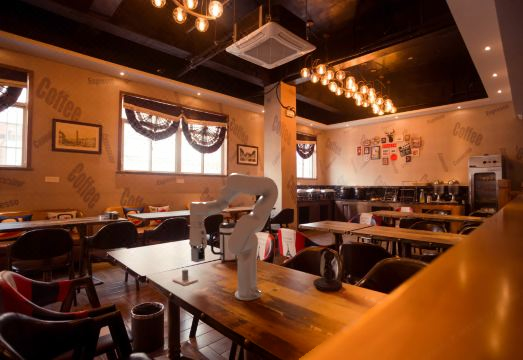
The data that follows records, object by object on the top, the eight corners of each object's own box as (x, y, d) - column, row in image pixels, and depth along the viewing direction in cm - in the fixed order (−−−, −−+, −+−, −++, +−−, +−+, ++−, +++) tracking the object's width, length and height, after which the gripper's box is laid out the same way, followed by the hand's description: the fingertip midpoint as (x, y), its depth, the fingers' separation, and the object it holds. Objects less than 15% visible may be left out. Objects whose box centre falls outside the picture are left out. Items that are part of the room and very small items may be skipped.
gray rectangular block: (205, 260, 153) (204, 248, 153) (197, 262, 149) (196, 250, 149) (199, 258, 156) (198, 246, 157) (191, 260, 153) (190, 248, 153)
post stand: (198, 281, 160) (197, 270, 160) (184, 285, 153) (184, 274, 154) (186, 276, 168) (186, 266, 168) (172, 280, 161) (172, 270, 161)
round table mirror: (310, 282, 155) (310, 246, 155) (336, 281, 156) (336, 245, 156) (317, 293, 141) (317, 253, 141) (346, 292, 142) (345, 252, 142)
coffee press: (225, 256, 213) (225, 216, 213) (243, 259, 205) (242, 218, 205) (210, 262, 198) (209, 219, 199) (228, 265, 190) (227, 221, 190)
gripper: (212, 224, 150) (213, 259, 150) (193, 222, 162) (194, 254, 161) (200, 226, 145) (201, 262, 144) (182, 224, 156) (183, 257, 156)
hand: (198, 257), depth 153 cm, fingers closed on gray rectangular block, 5 cm apart
